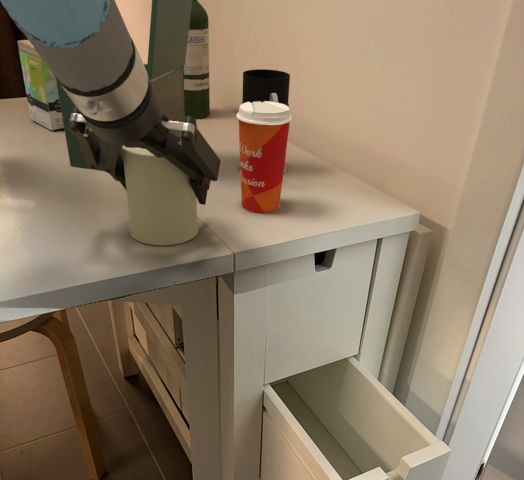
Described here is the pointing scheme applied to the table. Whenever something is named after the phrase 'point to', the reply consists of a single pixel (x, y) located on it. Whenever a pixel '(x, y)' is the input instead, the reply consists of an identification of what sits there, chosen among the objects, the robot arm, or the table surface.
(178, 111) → the dark green square box
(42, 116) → the tea box
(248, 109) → the paper cup
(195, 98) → the wine bottle
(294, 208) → the table surface
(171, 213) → the can
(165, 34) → the lid
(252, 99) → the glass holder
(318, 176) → the table surface
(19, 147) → the table surface
